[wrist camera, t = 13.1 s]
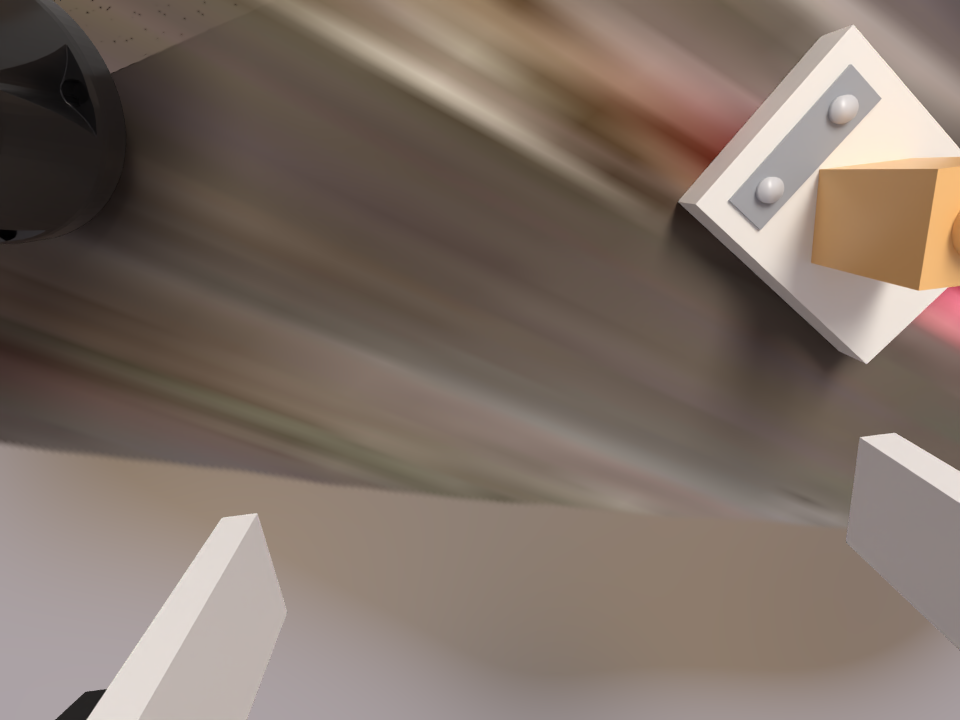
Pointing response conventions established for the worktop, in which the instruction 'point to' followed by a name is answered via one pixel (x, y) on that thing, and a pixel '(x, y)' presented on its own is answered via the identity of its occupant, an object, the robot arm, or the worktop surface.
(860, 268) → the orange cube with dome
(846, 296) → the block
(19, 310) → the worktop surface
